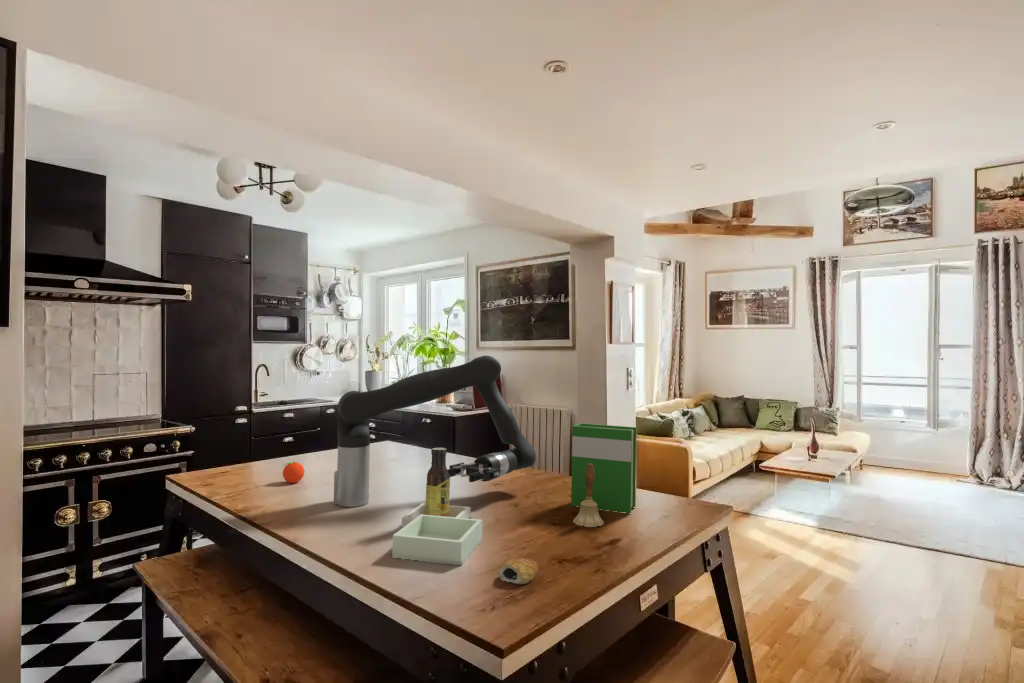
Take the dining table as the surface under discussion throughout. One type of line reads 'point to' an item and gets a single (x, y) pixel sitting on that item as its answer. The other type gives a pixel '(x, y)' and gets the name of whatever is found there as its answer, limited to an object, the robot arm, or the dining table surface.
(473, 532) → the sage bin
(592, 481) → the hand bell
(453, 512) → the off-white frame
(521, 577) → the pastry
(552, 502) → the dining table surface
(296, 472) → the clementine
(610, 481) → the hardback book
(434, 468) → the sauce bottle
